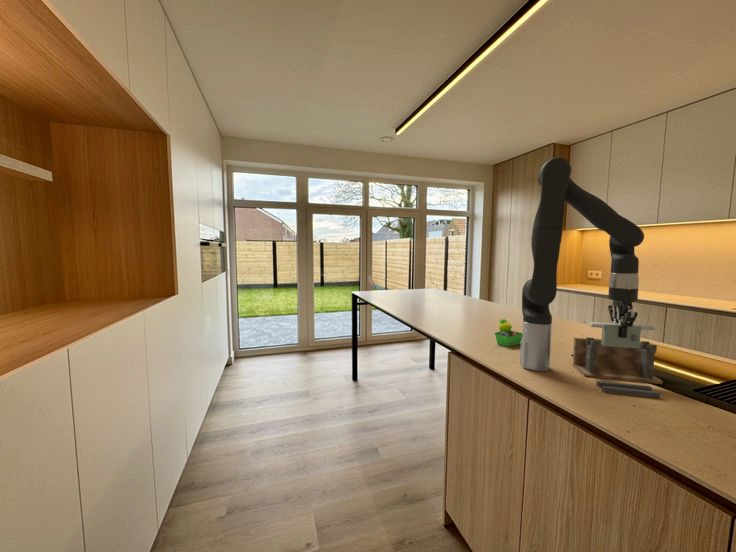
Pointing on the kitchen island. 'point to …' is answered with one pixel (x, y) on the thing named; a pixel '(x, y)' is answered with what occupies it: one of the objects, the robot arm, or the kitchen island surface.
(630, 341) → the door
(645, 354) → the cabinet frame
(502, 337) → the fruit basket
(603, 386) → the door rack
